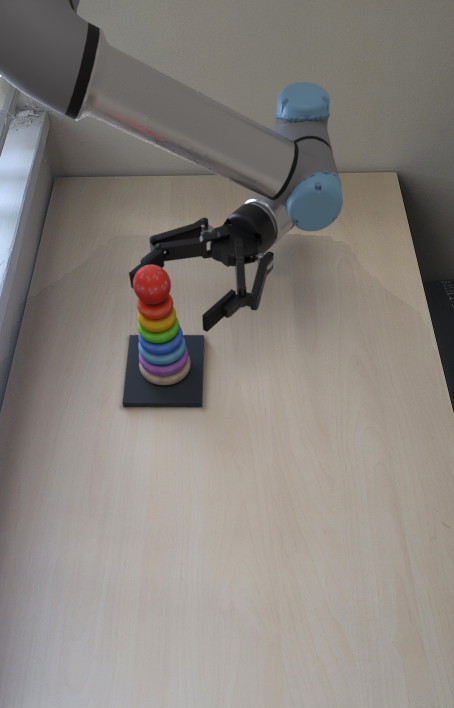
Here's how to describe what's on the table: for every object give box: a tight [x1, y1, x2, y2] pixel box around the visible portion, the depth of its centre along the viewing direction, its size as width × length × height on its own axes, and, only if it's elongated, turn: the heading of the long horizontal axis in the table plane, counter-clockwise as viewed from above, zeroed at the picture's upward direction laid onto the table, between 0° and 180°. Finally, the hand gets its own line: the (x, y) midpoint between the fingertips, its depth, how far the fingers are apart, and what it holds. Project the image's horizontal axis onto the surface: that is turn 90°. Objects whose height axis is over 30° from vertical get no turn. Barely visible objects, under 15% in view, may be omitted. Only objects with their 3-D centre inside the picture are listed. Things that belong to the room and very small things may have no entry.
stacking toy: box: [132, 265, 191, 385], centre depth 92 cm, size 8×8×19 cm
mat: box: [122, 334, 205, 408], centre depth 100 cm, size 12×14×1 cm
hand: (167, 302), depth 90 cm, fingers open, 13 cm apart
